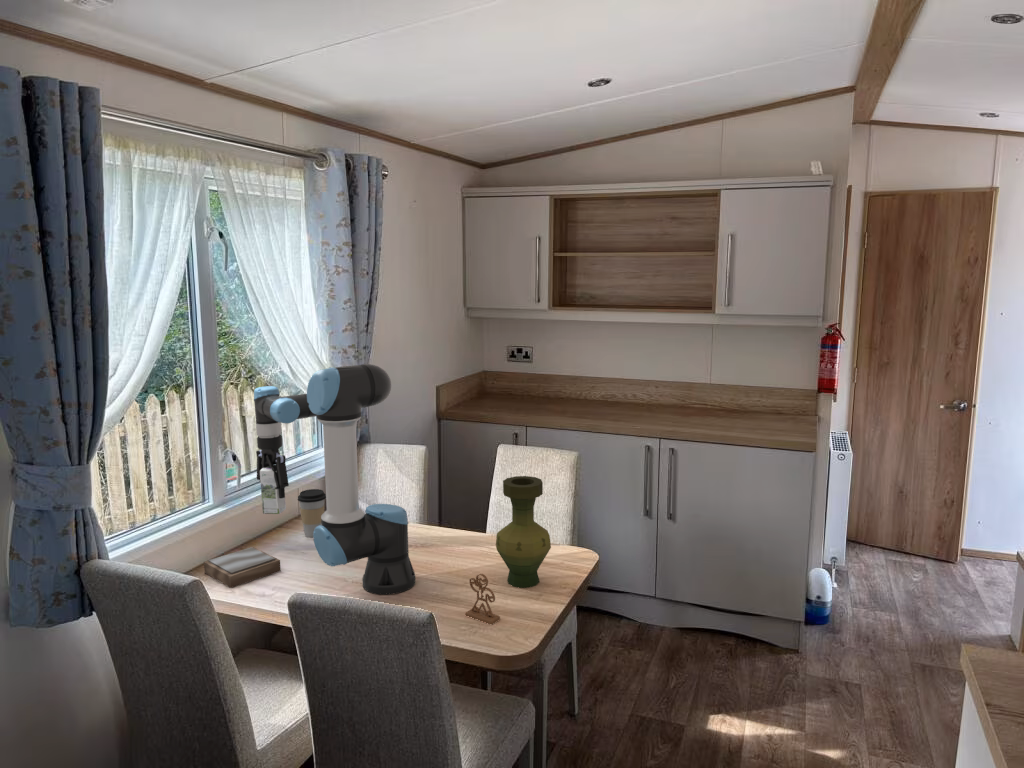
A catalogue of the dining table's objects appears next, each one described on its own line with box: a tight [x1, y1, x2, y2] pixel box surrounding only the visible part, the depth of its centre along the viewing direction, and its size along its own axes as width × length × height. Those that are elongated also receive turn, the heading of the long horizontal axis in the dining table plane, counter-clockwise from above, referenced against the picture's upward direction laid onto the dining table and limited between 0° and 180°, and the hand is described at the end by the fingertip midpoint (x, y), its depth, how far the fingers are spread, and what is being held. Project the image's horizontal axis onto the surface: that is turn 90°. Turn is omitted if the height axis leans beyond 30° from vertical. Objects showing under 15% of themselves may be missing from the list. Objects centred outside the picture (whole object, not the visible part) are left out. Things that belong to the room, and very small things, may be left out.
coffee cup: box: [297, 488, 326, 539], centre depth 258 cm, size 9×9×15 cm
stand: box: [203, 546, 282, 589], centre depth 229 cm, size 16×16×4 cm
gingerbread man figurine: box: [464, 573, 501, 625], centre depth 198 cm, size 9×4×12 cm, turn 54°
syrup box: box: [259, 466, 287, 515], centre depth 242 cm, size 6×6×14 cm
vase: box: [495, 475, 552, 589], centre depth 218 cm, size 16×16×30 cm
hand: (274, 504), depth 243 cm, fingers closed on syrup box, 8 cm apart
